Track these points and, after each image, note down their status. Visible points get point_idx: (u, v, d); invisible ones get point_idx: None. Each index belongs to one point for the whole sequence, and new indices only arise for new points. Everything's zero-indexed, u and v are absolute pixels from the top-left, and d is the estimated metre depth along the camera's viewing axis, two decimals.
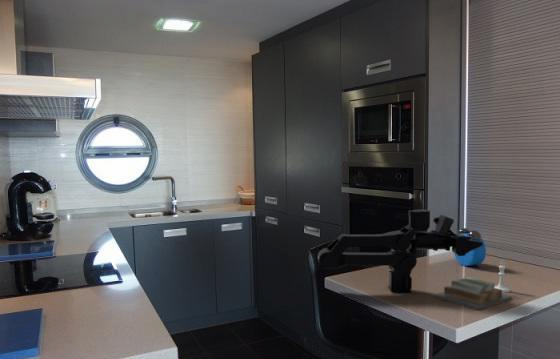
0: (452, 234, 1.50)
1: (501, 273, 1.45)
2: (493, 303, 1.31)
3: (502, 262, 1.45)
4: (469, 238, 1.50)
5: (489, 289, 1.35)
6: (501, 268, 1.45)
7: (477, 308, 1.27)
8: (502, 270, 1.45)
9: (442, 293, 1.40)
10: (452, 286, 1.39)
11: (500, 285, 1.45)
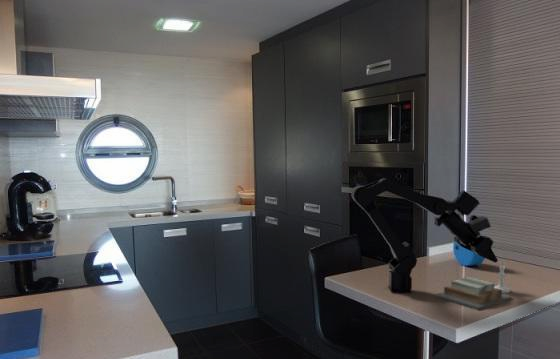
0: None
1: (501, 273, 1.45)
2: (493, 303, 1.31)
3: (502, 262, 1.45)
4: None
5: (489, 289, 1.35)
6: (501, 268, 1.45)
7: (477, 308, 1.27)
8: (502, 270, 1.45)
9: (442, 293, 1.40)
10: (452, 286, 1.39)
11: (500, 285, 1.45)
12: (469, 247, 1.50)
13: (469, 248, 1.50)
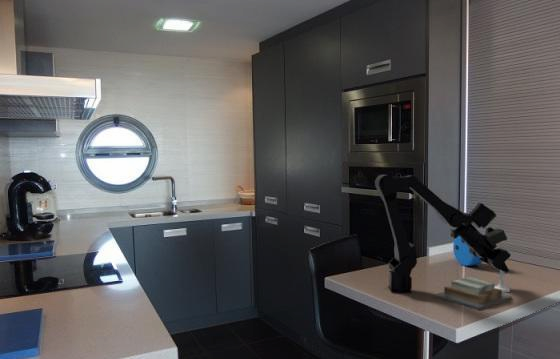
0: None
1: (501, 273, 1.45)
2: (493, 303, 1.31)
3: None
4: None
5: (489, 289, 1.35)
6: None
7: (477, 308, 1.27)
8: None
9: (442, 293, 1.40)
10: (452, 286, 1.39)
11: (500, 285, 1.45)
12: None
13: None
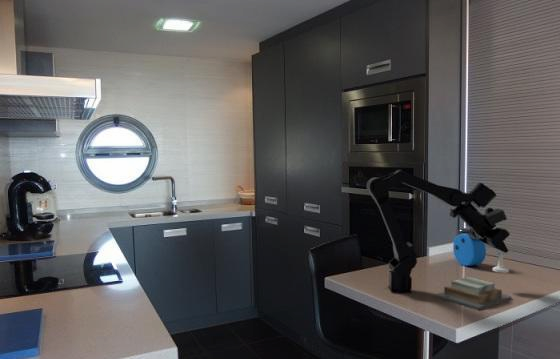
0: None
1: (500, 253, 1.44)
2: (493, 303, 1.31)
3: None
4: None
5: (489, 289, 1.35)
6: None
7: (477, 308, 1.27)
8: None
9: (442, 293, 1.40)
10: (452, 286, 1.39)
11: (499, 265, 1.44)
12: None
13: (488, 243, 1.46)
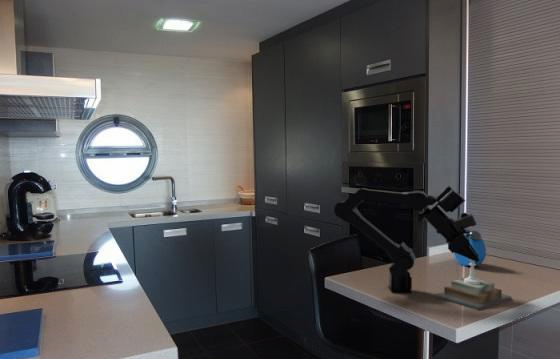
0: None
1: (470, 264, 1.37)
2: (493, 303, 1.31)
3: None
4: (476, 256, 1.39)
5: (489, 289, 1.35)
6: None
7: (477, 308, 1.27)
8: (472, 261, 1.37)
9: (442, 293, 1.40)
10: (452, 286, 1.39)
11: (469, 276, 1.37)
12: None
13: None
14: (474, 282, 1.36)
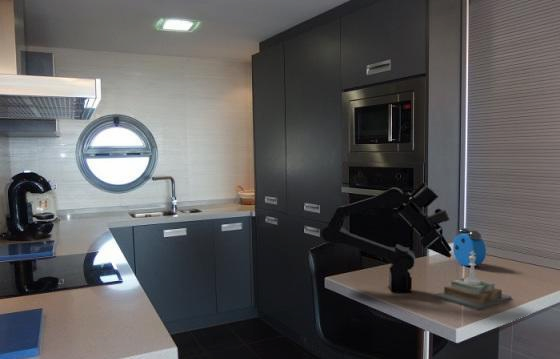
0: (440, 234, 1.46)
1: (470, 264, 1.37)
2: (493, 303, 1.31)
3: (472, 252, 1.37)
4: (449, 249, 1.44)
5: (489, 289, 1.35)
6: (470, 258, 1.37)
7: (477, 308, 1.27)
8: (472, 261, 1.37)
9: (442, 293, 1.40)
10: (452, 286, 1.39)
11: (470, 276, 1.37)
12: None
13: None
14: (474, 282, 1.36)
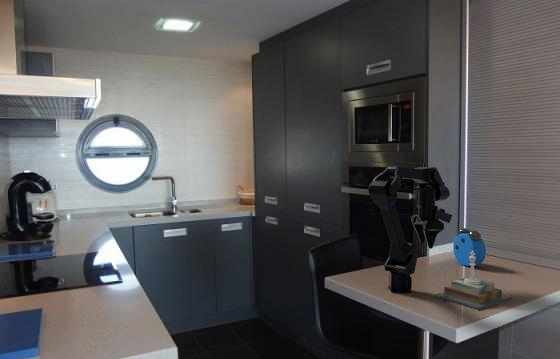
0: None
1: (470, 264, 1.37)
2: (493, 303, 1.31)
3: (472, 252, 1.37)
4: (422, 242, 1.60)
5: (489, 289, 1.35)
6: (470, 258, 1.37)
7: (477, 308, 1.27)
8: (472, 261, 1.37)
9: (442, 293, 1.40)
10: (452, 286, 1.39)
11: (470, 276, 1.37)
12: (418, 228, 1.60)
13: (417, 229, 1.60)
14: (474, 282, 1.36)
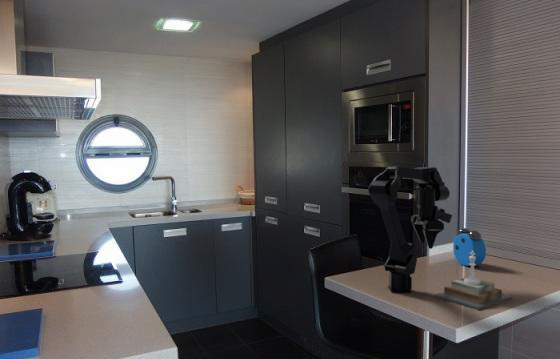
0: None
1: (470, 264, 1.37)
2: (493, 303, 1.31)
3: (472, 252, 1.37)
4: (422, 242, 1.60)
5: (489, 289, 1.35)
6: (470, 258, 1.37)
7: (477, 308, 1.27)
8: (472, 261, 1.37)
9: (442, 293, 1.40)
10: (452, 286, 1.39)
11: (470, 276, 1.37)
12: (418, 228, 1.60)
13: (417, 229, 1.60)
14: (474, 282, 1.36)
